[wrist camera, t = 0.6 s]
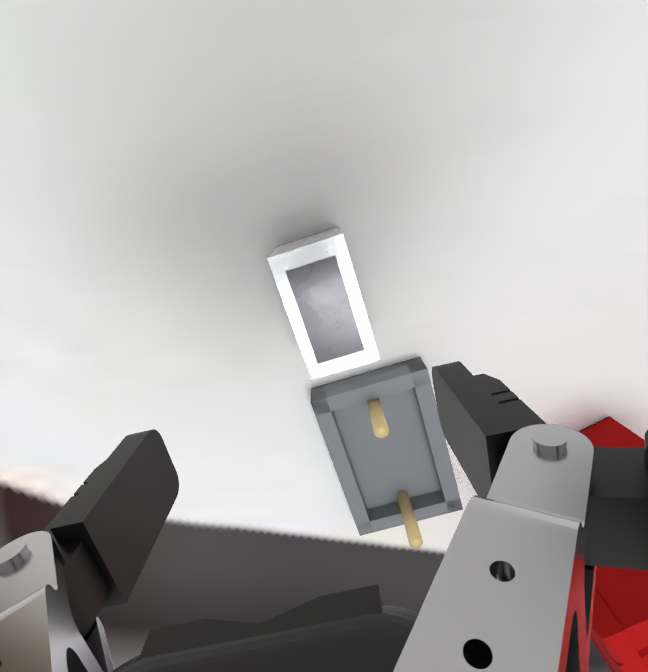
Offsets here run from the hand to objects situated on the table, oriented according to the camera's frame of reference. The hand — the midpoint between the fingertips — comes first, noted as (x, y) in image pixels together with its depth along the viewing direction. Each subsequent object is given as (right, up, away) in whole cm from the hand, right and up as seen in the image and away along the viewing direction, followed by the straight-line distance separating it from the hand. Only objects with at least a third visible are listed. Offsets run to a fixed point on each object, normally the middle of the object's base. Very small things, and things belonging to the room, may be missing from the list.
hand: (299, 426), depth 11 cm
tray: (+6, -6, +22) cm, 24 cm away
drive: (+1, +6, +18) cm, 19 cm away
